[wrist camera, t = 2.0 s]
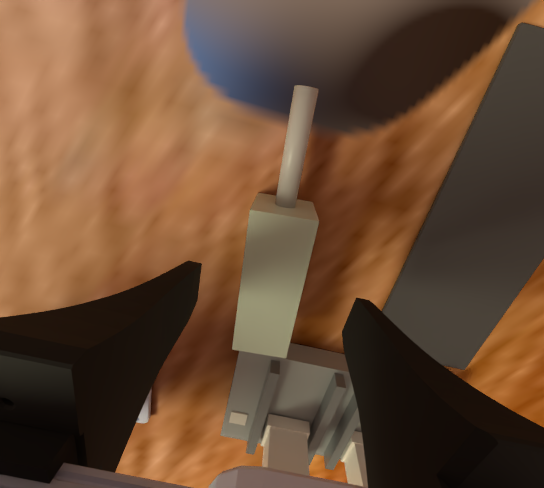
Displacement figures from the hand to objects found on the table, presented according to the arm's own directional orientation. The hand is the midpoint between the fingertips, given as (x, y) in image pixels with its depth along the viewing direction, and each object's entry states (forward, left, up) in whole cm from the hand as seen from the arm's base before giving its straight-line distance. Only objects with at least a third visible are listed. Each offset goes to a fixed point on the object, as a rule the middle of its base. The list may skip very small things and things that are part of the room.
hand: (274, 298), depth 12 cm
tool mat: (+11, +4, -4) cm, 12 cm away
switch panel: (+6, -11, -4) cm, 13 cm away
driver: (0, +2, -4) cm, 5 cm away
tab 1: (+3, -13, -2) cm, 13 cm away
